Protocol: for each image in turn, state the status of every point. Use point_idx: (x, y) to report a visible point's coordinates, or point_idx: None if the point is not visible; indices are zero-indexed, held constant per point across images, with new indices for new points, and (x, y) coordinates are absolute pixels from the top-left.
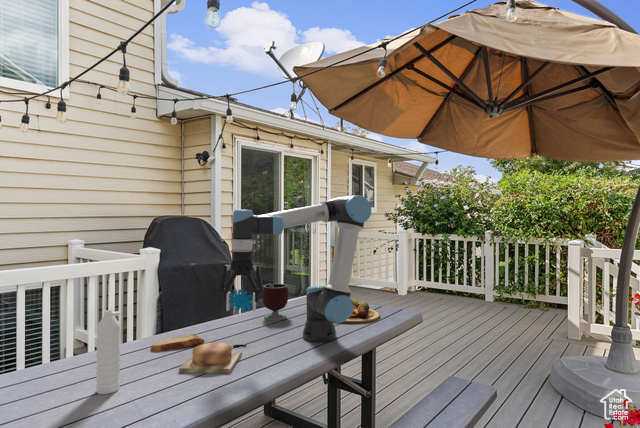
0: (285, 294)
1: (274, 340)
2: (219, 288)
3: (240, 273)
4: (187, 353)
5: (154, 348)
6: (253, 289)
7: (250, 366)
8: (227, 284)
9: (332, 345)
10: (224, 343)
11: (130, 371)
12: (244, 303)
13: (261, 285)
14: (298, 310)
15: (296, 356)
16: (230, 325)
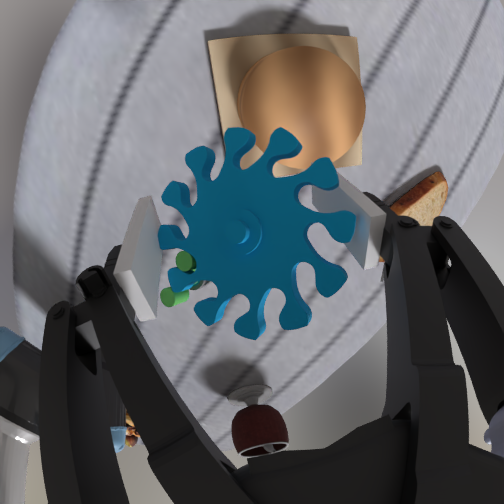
0: (235, 438)
1: (188, 302)
2: (458, 228)
3: (348, 467)
4: (377, 168)
5: (441, 176)
6: (122, 306)
7: (166, 103)
8: (432, 271)
9: (49, 302)
10: (287, 162)
11: (439, 59)
12: (213, 214)
13: (44, 352)
14: (222, 420)
15: (76, 215)
16: (325, 344)
